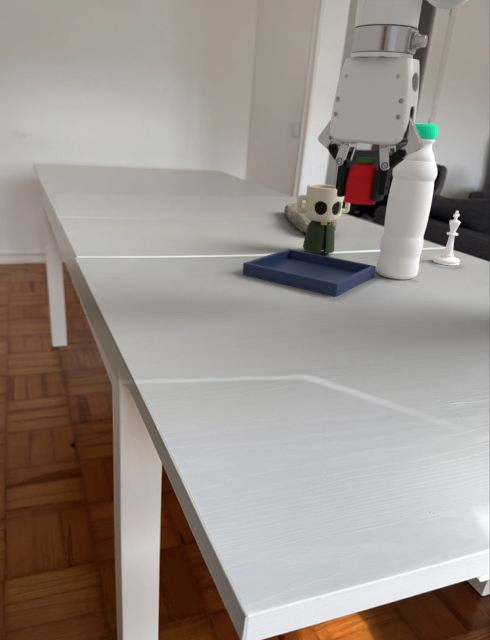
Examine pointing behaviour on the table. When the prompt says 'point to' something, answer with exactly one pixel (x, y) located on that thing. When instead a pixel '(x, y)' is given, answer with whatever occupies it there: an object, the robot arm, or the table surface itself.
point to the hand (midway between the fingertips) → (360, 196)
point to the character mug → (321, 216)
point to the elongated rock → (299, 217)
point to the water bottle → (408, 209)
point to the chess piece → (450, 245)
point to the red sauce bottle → (360, 181)
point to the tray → (310, 271)
